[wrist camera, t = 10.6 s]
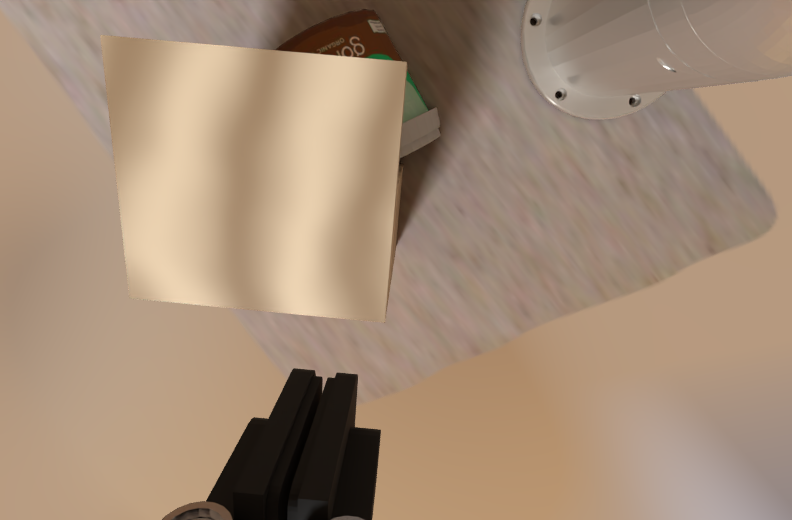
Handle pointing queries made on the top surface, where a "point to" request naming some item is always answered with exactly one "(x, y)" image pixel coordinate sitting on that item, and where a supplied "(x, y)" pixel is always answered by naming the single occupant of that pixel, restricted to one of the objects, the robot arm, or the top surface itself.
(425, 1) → the top surface
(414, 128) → the food container
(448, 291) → the top surface
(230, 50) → the wooden stand
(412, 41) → the top surface
